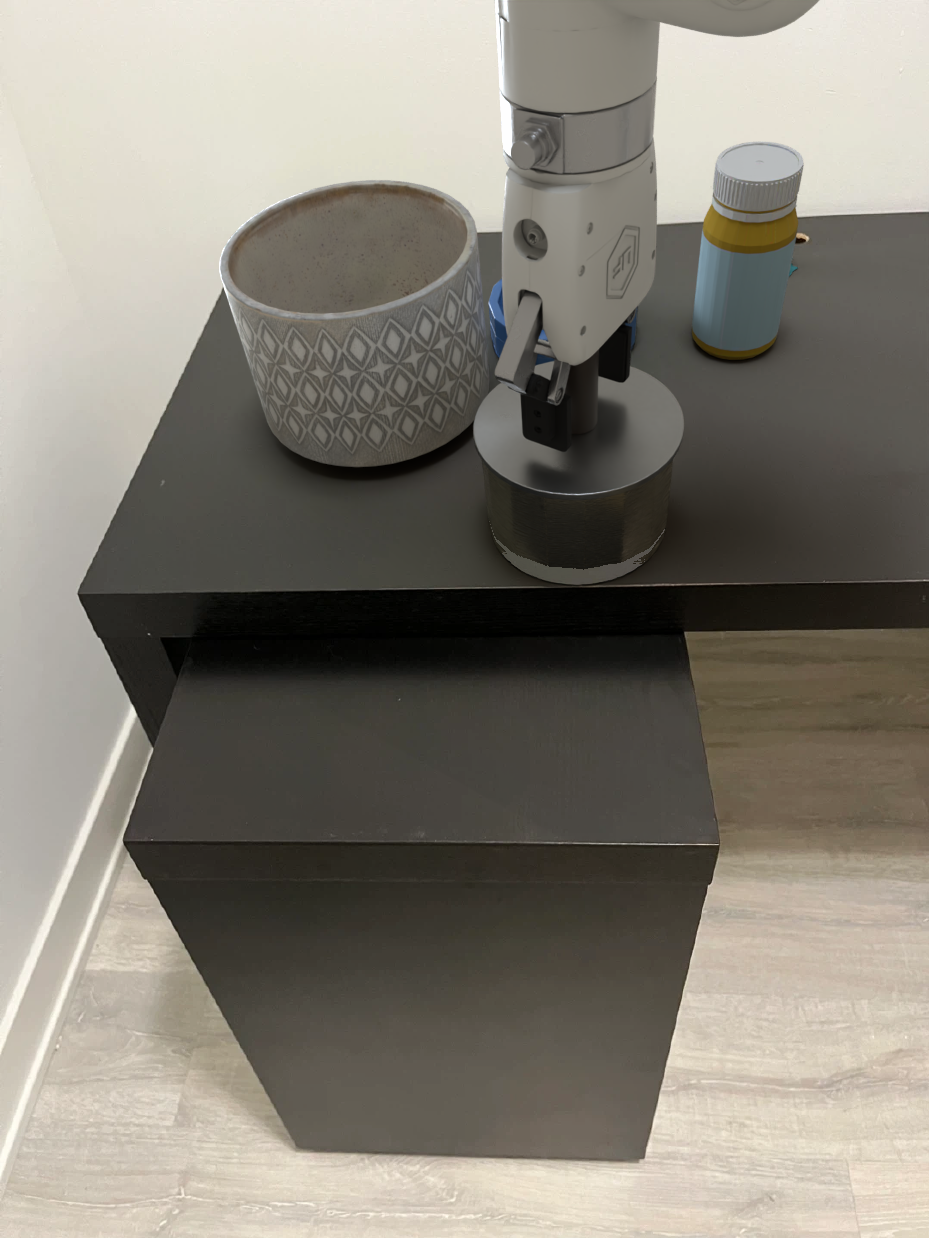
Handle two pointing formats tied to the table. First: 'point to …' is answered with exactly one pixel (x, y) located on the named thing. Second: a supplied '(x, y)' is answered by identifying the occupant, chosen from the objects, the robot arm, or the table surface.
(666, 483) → the pot
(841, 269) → the table surface
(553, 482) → the lid
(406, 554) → the table surface
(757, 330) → the bottle
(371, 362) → the planter
